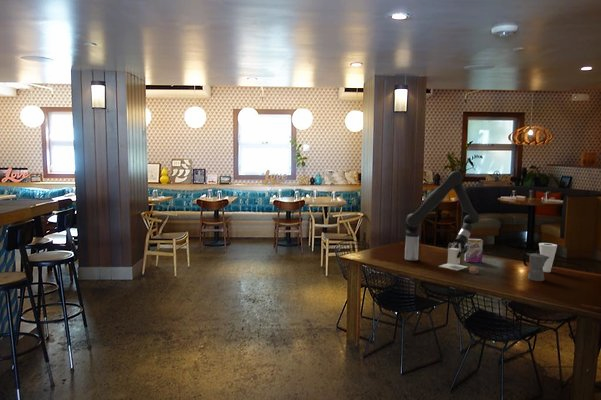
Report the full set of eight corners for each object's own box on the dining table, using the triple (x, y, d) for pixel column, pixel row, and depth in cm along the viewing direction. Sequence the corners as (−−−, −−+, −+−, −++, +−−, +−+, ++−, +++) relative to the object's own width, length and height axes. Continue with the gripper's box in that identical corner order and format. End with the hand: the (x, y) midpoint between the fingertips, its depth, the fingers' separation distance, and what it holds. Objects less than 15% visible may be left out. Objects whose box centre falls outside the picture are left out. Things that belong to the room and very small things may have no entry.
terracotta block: (474, 274, 288) (475, 268, 287) (469, 272, 291) (469, 266, 290) (477, 273, 290) (478, 267, 290) (472, 271, 293) (472, 265, 293)
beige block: (455, 264, 301) (456, 250, 300) (447, 263, 306) (448, 248, 305) (459, 263, 305) (460, 248, 304) (452, 261, 309) (452, 247, 308)
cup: (553, 274, 289) (555, 246, 287) (535, 271, 296) (536, 244, 294) (557, 271, 297) (559, 244, 295) (539, 268, 304) (541, 242, 302)
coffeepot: (549, 279, 277) (550, 250, 275) (546, 282, 270) (548, 253, 268) (521, 275, 286) (523, 247, 284) (518, 278, 278) (520, 249, 277)
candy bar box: (465, 262, 319) (467, 239, 317) (464, 260, 324) (465, 238, 322) (482, 262, 318) (483, 240, 316) (480, 261, 323) (481, 238, 321)
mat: (457, 270, 296) (457, 270, 296) (438, 266, 306) (438, 265, 306) (468, 267, 305) (468, 266, 305) (449, 263, 315) (449, 262, 315)
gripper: (451, 232, 314) (441, 251, 307) (470, 235, 304) (461, 255, 297) (455, 239, 318) (445, 258, 312) (474, 242, 308) (464, 261, 301)
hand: (453, 256), depth 304 cm, fingers closed on beige block, 5 cm apart
